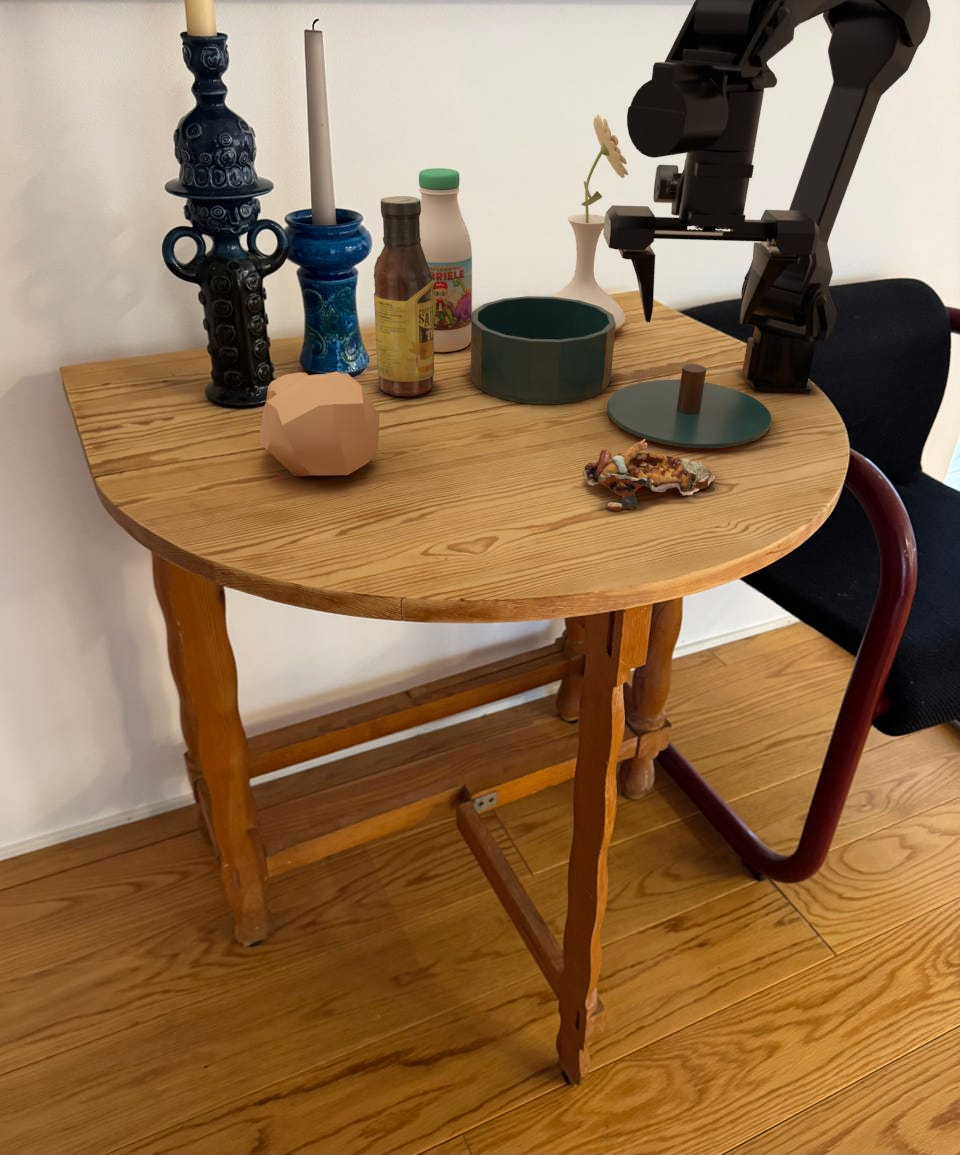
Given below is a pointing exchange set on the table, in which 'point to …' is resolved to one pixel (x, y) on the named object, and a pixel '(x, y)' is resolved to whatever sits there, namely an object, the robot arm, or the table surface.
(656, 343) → the table surface
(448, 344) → the milk bottle
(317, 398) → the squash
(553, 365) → the pot
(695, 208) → the robot arm
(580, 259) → the flower in vase
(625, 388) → the lid
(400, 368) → the sauce bottle
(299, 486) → the table surface
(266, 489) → the table surface
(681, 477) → the pastry
